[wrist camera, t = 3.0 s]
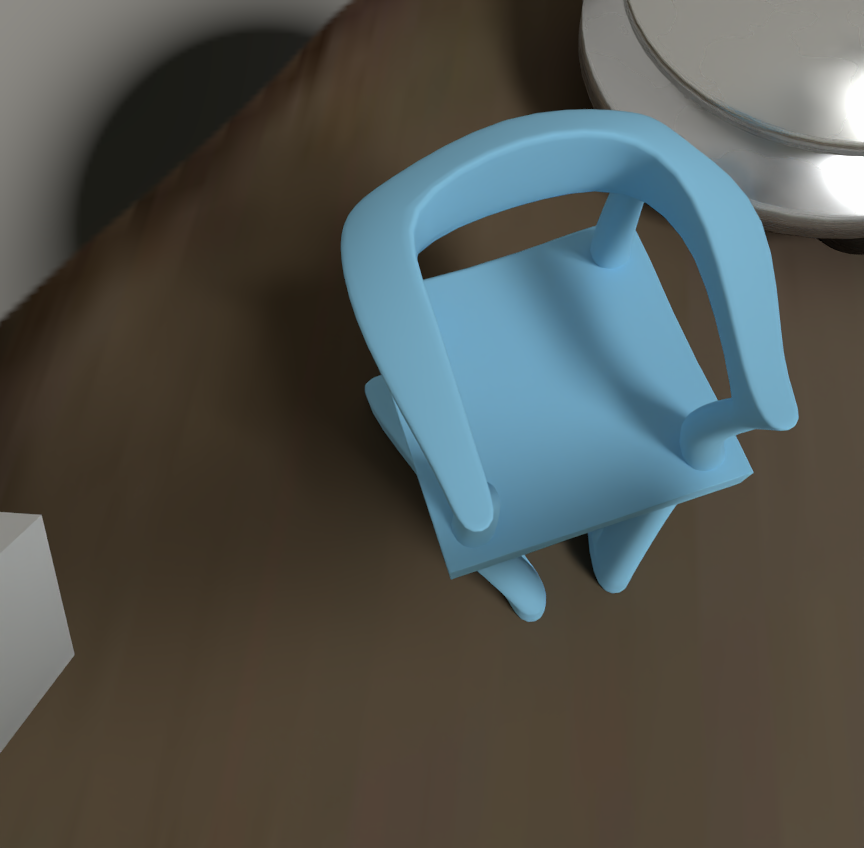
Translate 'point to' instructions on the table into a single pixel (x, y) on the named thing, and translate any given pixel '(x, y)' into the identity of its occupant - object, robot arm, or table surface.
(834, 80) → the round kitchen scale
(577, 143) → the chair
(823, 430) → the table surface
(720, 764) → the table surface
